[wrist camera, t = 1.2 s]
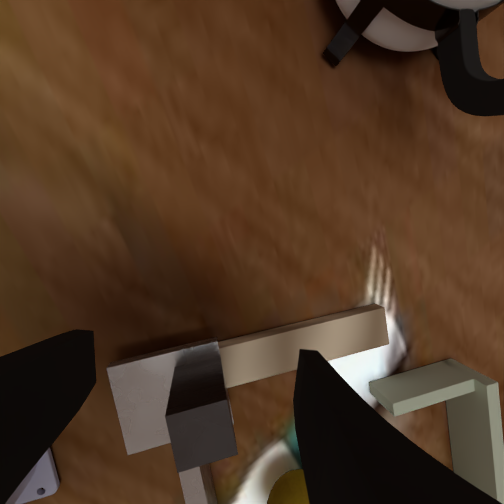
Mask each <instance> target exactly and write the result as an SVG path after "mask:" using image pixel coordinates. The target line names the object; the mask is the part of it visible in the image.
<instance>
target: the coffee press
mask: <svg viewBox="0 0 504 504" xmlns="http://www.w3.org/2000/svg"><path fill="white" fill-rule="evenodd" d="M335 1H336V3H337V5H338V6H339V8H340V10H341V12H342V13H343V15H344V16H345V17H346V19H347V20H346V22H345V23H344V25H343V26H342V27H341V29H340V30H339V31H338V33H337V34H336V36H335V37H334V38H333V40H332V41H331V42H330V44H329V45H328V47H327V48H326V49H325V51H324V52H323V54H324V55H325V56H326V57H327V58H328V59H329V60H330V61H331V62H332V63H333V64H334V65H335V66H337V65H338V63H339V62H340V61H341V60H342V58H343V57H344V56H345V55H346V53H347V52H348V51H349V49H350V48H351V47H352V46H353V44H354V43H355V42H356V41H357V39H358V38H359V37H360V36H361V35H363V36H364V37H365V38H367V39H368V40H370V41H371V42H373V43H375V44H377V45H379V46H381V47H384V48H386V49H390V50H394V51H403V52H412V51H421V50H426V49H430V48H433V47H435V55H436V58H437V59H438V60H439V64H440V71H441V76H442V81H443V85H444V88H445V91H446V93H447V96H448V98H449V99H450V101H451V102H452V103H453V105H455V106H456V107H457V108H458V109H460V110H461V111H463V112H465V113H468V114H471V115H476V116H496V115H504V79H496V78H493V77H491V76H489V75H488V74H487V73H486V72H485V71H484V70H483V68H482V66H481V62H480V58H479V51H478V41H477V28H476V26H477V24H478V21H480V20H481V19H483V18H484V17H486V16H487V15H488V14H489V13H491V12H492V11H493V10H495V9H496V8H497V7H499V6H500V5H501V4H503V3H504V0H335Z"/></svg>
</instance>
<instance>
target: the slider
mask: <svg viewBox="0 0 504 504" xmlns="http://www.w3.org/2000/svg"><path fill="white" fill-rule="evenodd" d="M107 372H108V377H109V381H110V385H111V389H112V393H113V397H114V401H115V405H116V409H117V413H118V417H119V421H120V425H121V429H122V433H123V437H124V441H125V446H126V450H127V454H128V455H130V454H133V453H137V452H140V451H144V450H147V449H150V448H154V447H157V446H161V445H164V444H167V443H171V445H172V450H173V454H174V459H175V463H176V467H177V472H178V473H179V476H180V480H181V485H182V489H183V494H184V498H185V502H186V504H218V503H217V498H216V493H215V489H214V484H213V479H212V475H211V470H210V465H209V463H212V462H215V461H218V460H221V459H224V458H228V457H231V456H234V455H237V454H238V452H237V446H236V440H235V434H234V427H233V424H234V421H233V416H232V411H231V406H230V401H229V396H228V391H227V385H226V380H225V375H224V370H223V365H222V360H221V355H220V350H219V345H218V340H217V337H214V338H210V339H205V340H201V341H197V342H193V343H189V344H185V345H181V346H176V347H172V348H168V349H164V350H160V351H156V352H151V353H147V354H143V355H139V356H135V357H131V358H127V359H122V360H118V361H114V362H110V364H109V365H108V367H107Z"/></svg>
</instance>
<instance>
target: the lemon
mask: <svg viewBox="0 0 504 504" xmlns="http://www.w3.org/2000/svg"><path fill="white" fill-rule="evenodd" d="M267 504H309V499H308V493H307V488H306V483H305V478H304V472H303V469H296V470H291V471H289V472H286V473H285V474H284V475H282V476H281V477H280V478H279V479H278V480H277V481H276V482H275V484H274V486H273V488H272V489H271V491H270V495H269V498H268V501H267Z"/></svg>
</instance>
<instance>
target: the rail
mask: <svg viewBox="0 0 504 504" xmlns="http://www.w3.org/2000/svg"><path fill="white" fill-rule="evenodd" d="M388 344H389V339H388V331H387V324H386V316H385V309H384V307H382V306H379V305H377V304H372V305H368V306H364V307H359V308H355V309H351V310H347V311H343V312H339V313H335V314H331V315H327V316H323V317H319V318H314V319H310V320H306V321H302V322H298V323H294V324H290V325H286V326H282V327H278V328H274V329H269V330H265V331H261V332H257V333H253V334H249V335H245V336H241V337H237V338H233V339H229V340H224V341H220V342H218V345H219V350H220V355H221V360H222V365H223V370H224V375H225V380H226V385H227V388H229V387H233V386H237V385H240V384H244V383H248V382H251V381H255V380H259V379H263V378H266V377H270V376H274V375H277V374H281V373H285V372H288V371H292V370H296V369H297V366H298V358H299V350H300V349H307V350H317V351H318V352H319V353H320V354H321V355H322V356H323V357H324V358H325V359H326V360H327V361H329V360H332V359H336V358H340V357H343V356H347V355H351V354H354V353H358V352H362V351H366V350H369V349H373V348H377V347H380V346H384V345H388Z"/></svg>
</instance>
